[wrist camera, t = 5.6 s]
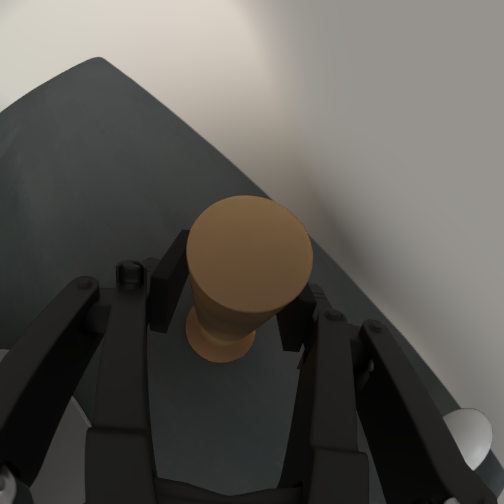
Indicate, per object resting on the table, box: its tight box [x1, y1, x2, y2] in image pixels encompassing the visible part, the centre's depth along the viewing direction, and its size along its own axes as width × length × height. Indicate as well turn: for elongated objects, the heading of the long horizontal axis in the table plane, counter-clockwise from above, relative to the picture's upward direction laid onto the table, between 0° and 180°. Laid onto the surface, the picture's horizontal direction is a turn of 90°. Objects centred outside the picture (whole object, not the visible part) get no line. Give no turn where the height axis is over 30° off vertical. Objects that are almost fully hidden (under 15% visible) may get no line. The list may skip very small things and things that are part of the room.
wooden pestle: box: [186, 195, 313, 363], centre depth 14 cm, size 5×5×16 cm
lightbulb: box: [443, 408, 493, 471], centre depth 14 cm, size 6×6×11 cm
